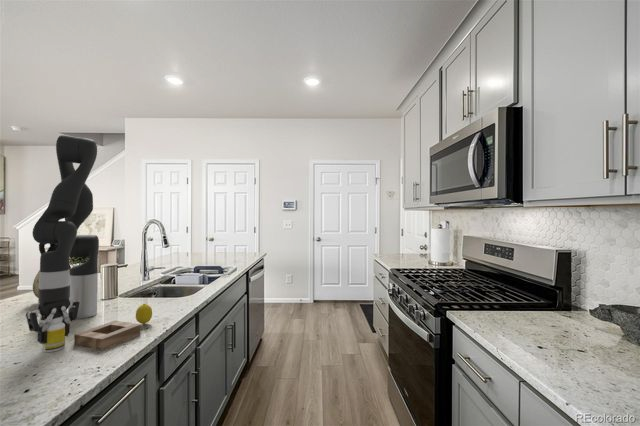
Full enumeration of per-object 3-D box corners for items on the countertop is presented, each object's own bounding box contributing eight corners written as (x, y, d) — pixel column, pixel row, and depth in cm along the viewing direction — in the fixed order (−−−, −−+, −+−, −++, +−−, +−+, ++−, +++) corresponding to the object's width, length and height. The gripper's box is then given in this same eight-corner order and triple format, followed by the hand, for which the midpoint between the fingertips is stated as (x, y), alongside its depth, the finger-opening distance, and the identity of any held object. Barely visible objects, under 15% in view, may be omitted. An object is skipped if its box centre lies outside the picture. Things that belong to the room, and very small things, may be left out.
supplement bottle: (69, 346, 100) (69, 315, 100) (49, 354, 94) (50, 321, 94) (57, 344, 101) (58, 313, 101) (37, 351, 96) (38, 319, 96)
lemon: (144, 327, 117) (145, 306, 117) (132, 326, 118) (132, 305, 118) (155, 322, 122) (155, 302, 122) (143, 321, 123) (143, 301, 123)
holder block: (74, 345, 101) (74, 334, 101) (114, 330, 114) (114, 320, 114) (101, 350, 97) (102, 339, 97) (140, 334, 110) (140, 324, 110)
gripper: (70, 279, 106) (69, 330, 106) (18, 289, 92) (17, 347, 92) (86, 281, 104) (86, 332, 104) (36, 291, 90) (35, 350, 90)
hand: (53, 339), depth 98 cm, fingers closed on supplement bottle, 5 cm apart
